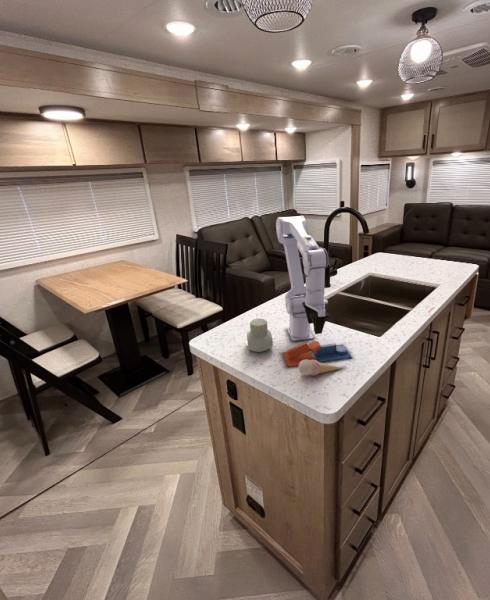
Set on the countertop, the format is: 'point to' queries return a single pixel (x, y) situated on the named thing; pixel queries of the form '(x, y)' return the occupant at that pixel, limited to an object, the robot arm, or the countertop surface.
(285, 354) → the terracotta mat
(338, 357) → the blue mat
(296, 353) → the terracotta spoon
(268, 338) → the air freshener
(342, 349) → the blue spoon
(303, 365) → the ice cream cone
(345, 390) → the countertop surface
